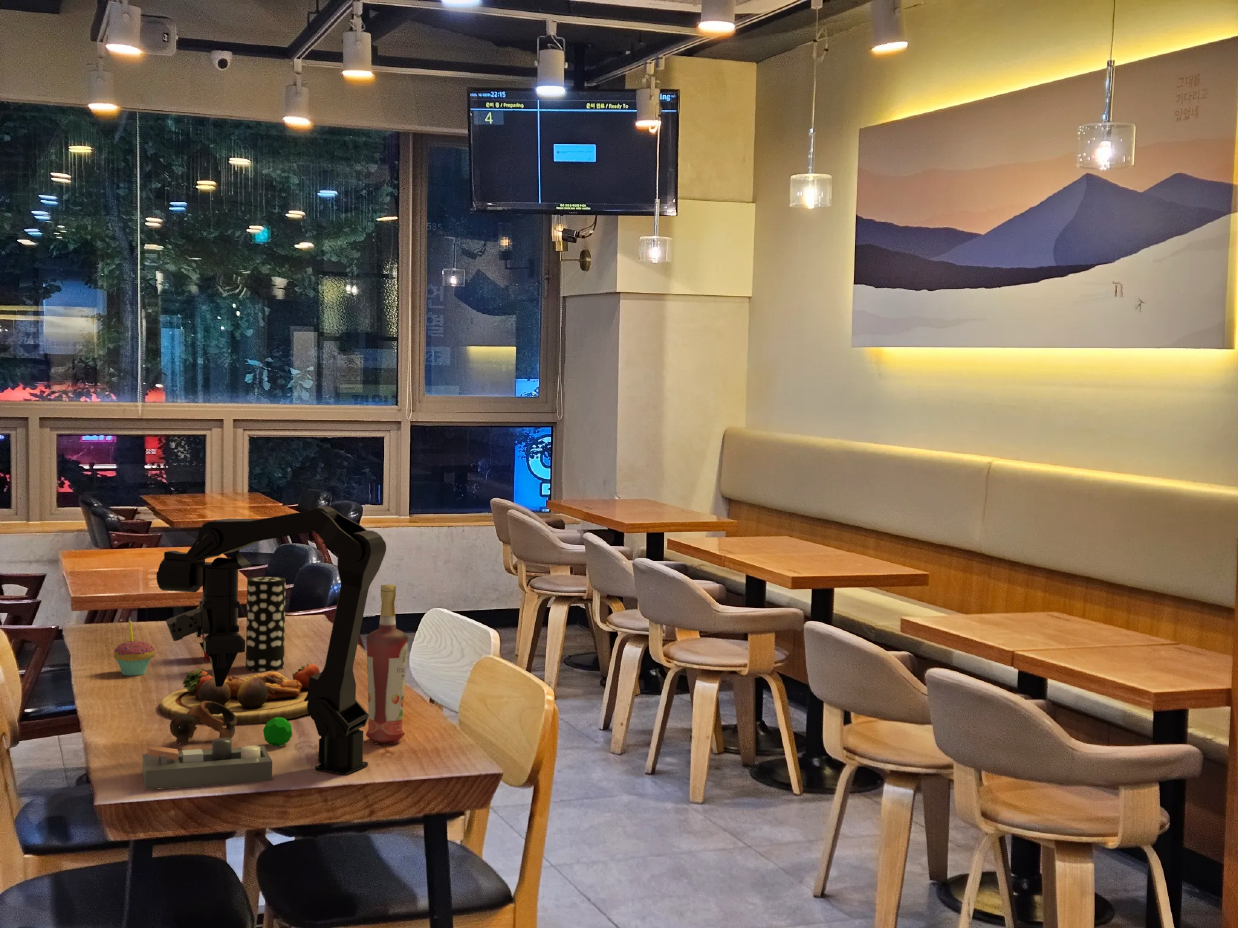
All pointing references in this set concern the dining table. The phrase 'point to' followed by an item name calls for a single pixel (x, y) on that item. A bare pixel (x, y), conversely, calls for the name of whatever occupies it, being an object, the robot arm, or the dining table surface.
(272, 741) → the polyhedron
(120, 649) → the cupcake
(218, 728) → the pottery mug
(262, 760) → the panel
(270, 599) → the spotted tube
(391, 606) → the liquor
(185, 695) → the wooden plate with food
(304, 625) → the dining table surface
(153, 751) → the terracotta rocker
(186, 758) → the grey square button
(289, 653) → the dining table surface
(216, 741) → the black round button
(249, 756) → the white cylinder
